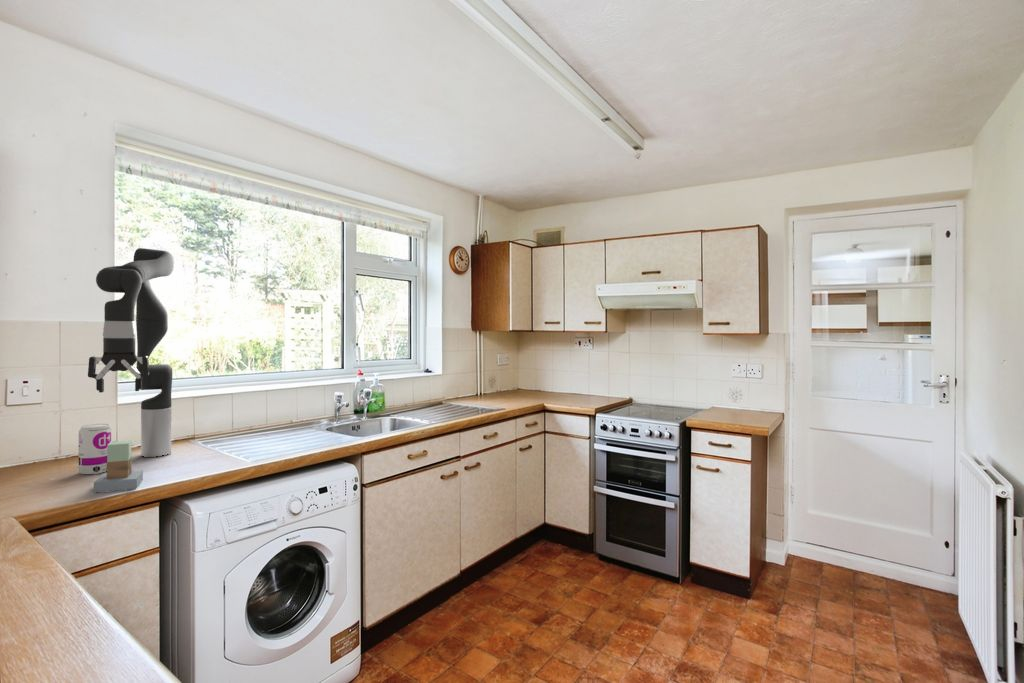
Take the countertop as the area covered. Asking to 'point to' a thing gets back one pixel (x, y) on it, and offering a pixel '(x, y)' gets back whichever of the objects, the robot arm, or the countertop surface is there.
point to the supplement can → (93, 448)
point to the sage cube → (119, 451)
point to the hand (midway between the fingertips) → (119, 391)
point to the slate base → (118, 482)
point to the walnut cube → (118, 469)
